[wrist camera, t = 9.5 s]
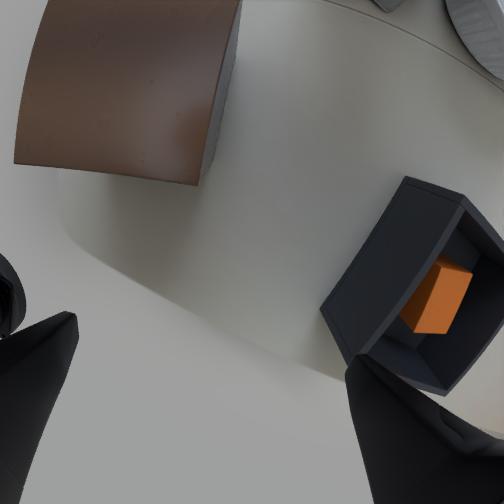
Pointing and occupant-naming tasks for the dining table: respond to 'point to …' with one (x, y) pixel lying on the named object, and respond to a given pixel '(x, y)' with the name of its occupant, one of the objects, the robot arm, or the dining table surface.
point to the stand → (128, 87)
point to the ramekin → (481, 30)
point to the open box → (408, 279)
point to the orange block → (437, 297)
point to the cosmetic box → (389, 4)
